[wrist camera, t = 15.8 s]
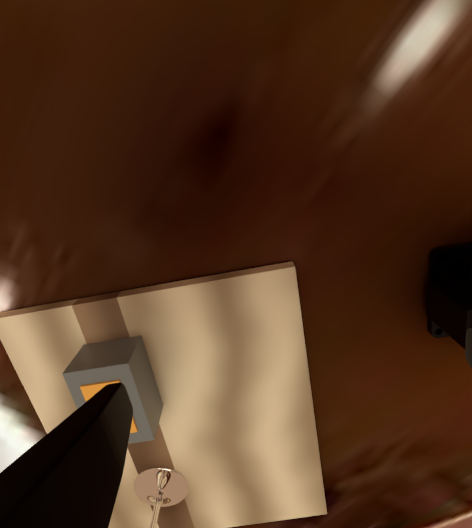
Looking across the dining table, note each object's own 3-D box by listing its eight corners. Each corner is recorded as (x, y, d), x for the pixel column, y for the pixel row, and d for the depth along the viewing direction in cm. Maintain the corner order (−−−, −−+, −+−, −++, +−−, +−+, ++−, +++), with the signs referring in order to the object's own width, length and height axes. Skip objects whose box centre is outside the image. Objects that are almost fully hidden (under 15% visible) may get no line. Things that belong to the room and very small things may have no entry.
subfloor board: (292, 261, 21) (295, 266, 20) (324, 501, 29) (327, 513, 28) (0, 312, 22) (-10, 319, 21) (106, 532, 30) (102, 544, 29)
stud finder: (141, 335, 22) (127, 365, 19) (163, 405, 24) (153, 442, 21) (83, 344, 22) (60, 375, 19) (110, 413, 24) (93, 450, 21)
